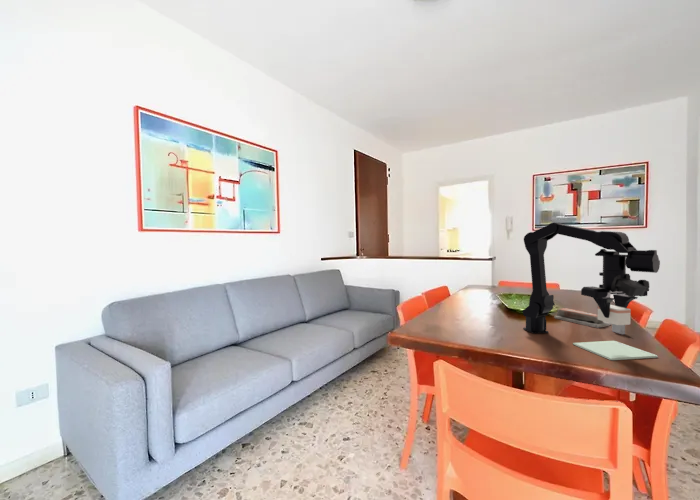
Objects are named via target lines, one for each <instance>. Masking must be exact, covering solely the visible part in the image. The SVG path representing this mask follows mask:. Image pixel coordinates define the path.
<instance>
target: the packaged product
mask: <svg viewBox="0 0 700 500" xmlns="http://www.w3.org/2000/svg"><path fill="white" fill-rule="evenodd" d="M554 319H556V320H562V321H566V322H570V323H573V324H578V325H582V326H587V327H592V328H596V329H599V328H603V327H604V328H605V327H609V326H612V324H611V323H608V322H604V321H601V320H598V314H596V313H590V312H588V311H587V312H586V311H582V310H578V309H571V308H566V307H564V308H563V307H562V308H558V309H557V313H556V315H554Z"/></svg>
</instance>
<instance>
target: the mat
mask: <svg viewBox="0 0 700 500" xmlns="http://www.w3.org/2000/svg"><path fill="white" fill-rule="evenodd" d="M572 345H573V346H576V347H578V348H580V349H583V350H585V351H587V352H590V353H592V354H594V355H597V356H599V357H601V358H605V359H608V360H609V361H623V360H635V359H636V360H639V359H640V360H641V359H654V358H659V357H658V355H657V354H654V353H651V352H649V351H646V350H643V349H640V348H637V347H635V346H631V345H628V344H627V343H626V344H625V343H622V342H620V341H617V340H603V341H602V340H601V341H600V340H599V341H586V342H585V341H584V342H583V341H582V342H580V341H579V342H572Z"/></svg>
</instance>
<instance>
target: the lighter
mask: <svg viewBox="0 0 700 500" xmlns="http://www.w3.org/2000/svg"><path fill="white" fill-rule="evenodd" d="M611 332H613V333H616V334H619V335H626V325H615V324H611Z"/></svg>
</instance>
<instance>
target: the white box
mask: <svg viewBox="0 0 700 500" xmlns="http://www.w3.org/2000/svg"><path fill="white" fill-rule="evenodd" d="M631 313H632V310H631V308H628V307H627V308H624V307H619V306H615V304H610V314H609V318H606V317H604V315H603V313H602V311H601V309H600V308H599V306H598V305H597V315H598V320H601V321H603V322H607V323H611V325H612V324H615V325H625V326H628V325H630V326H631Z"/></svg>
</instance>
